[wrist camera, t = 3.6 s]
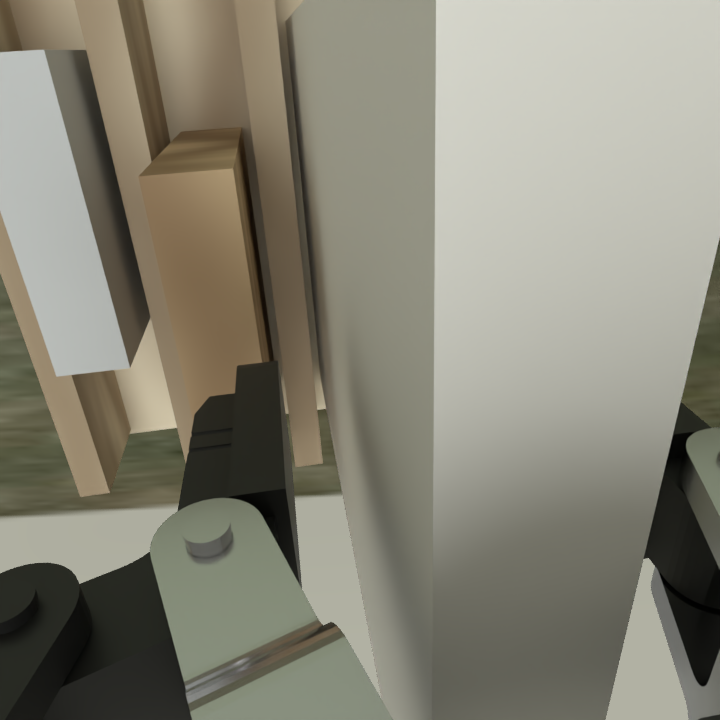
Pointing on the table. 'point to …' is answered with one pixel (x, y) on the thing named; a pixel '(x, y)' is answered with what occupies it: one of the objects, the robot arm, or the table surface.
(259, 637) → the robot arm
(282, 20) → the rack
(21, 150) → the offcut grey
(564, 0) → the sheet
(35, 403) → the table surface
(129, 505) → the table surface
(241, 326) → the offcut oak
